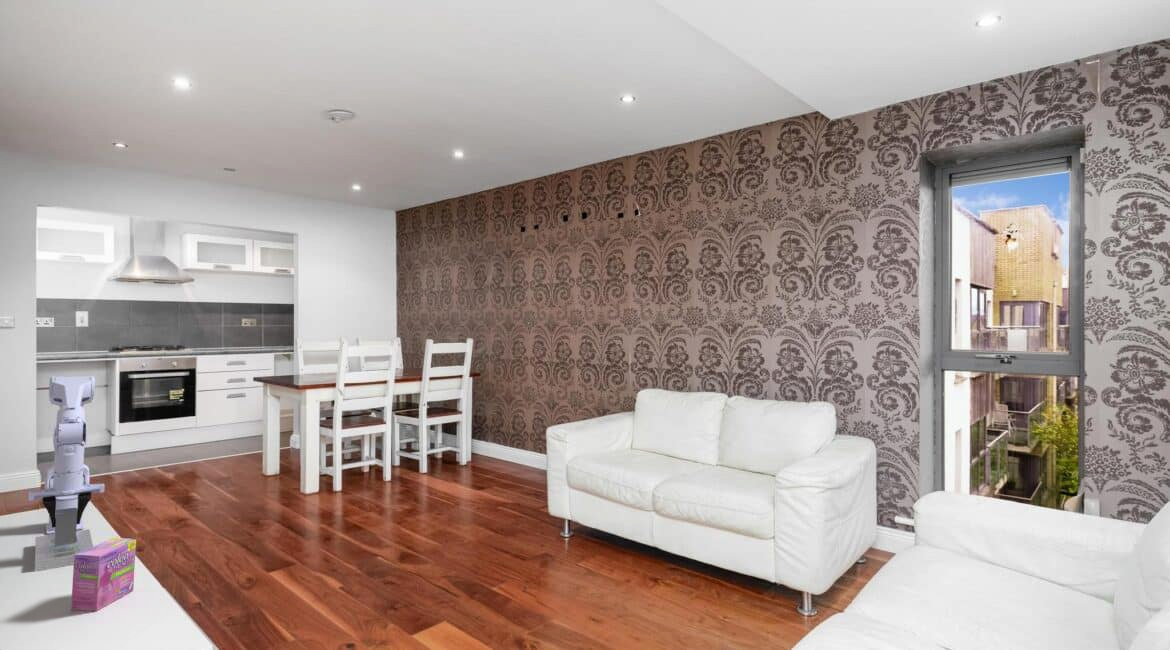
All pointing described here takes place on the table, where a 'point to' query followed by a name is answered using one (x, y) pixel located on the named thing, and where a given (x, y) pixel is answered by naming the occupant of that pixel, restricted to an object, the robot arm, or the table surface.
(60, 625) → the table surface
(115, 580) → the box
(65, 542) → the grey rectangular block
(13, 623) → the table surface
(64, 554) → the plate
